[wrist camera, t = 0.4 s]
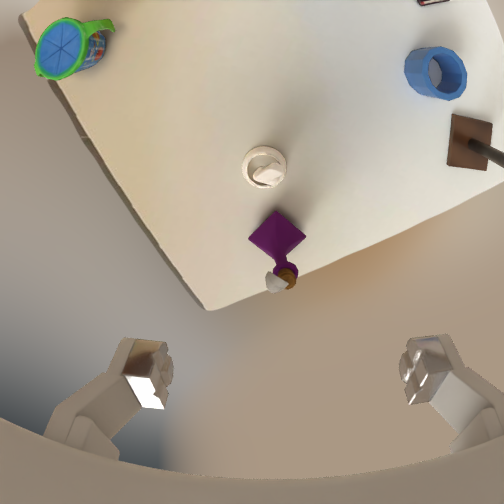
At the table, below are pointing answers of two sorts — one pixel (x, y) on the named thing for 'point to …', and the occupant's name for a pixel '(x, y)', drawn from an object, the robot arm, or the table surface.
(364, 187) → the table surface
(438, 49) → the tape roll
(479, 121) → the stand
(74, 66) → the snack cup
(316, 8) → the table surface
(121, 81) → the table surface
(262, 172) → the hook
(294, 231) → the perfume bottle
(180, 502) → the robot arm
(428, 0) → the smartphone
